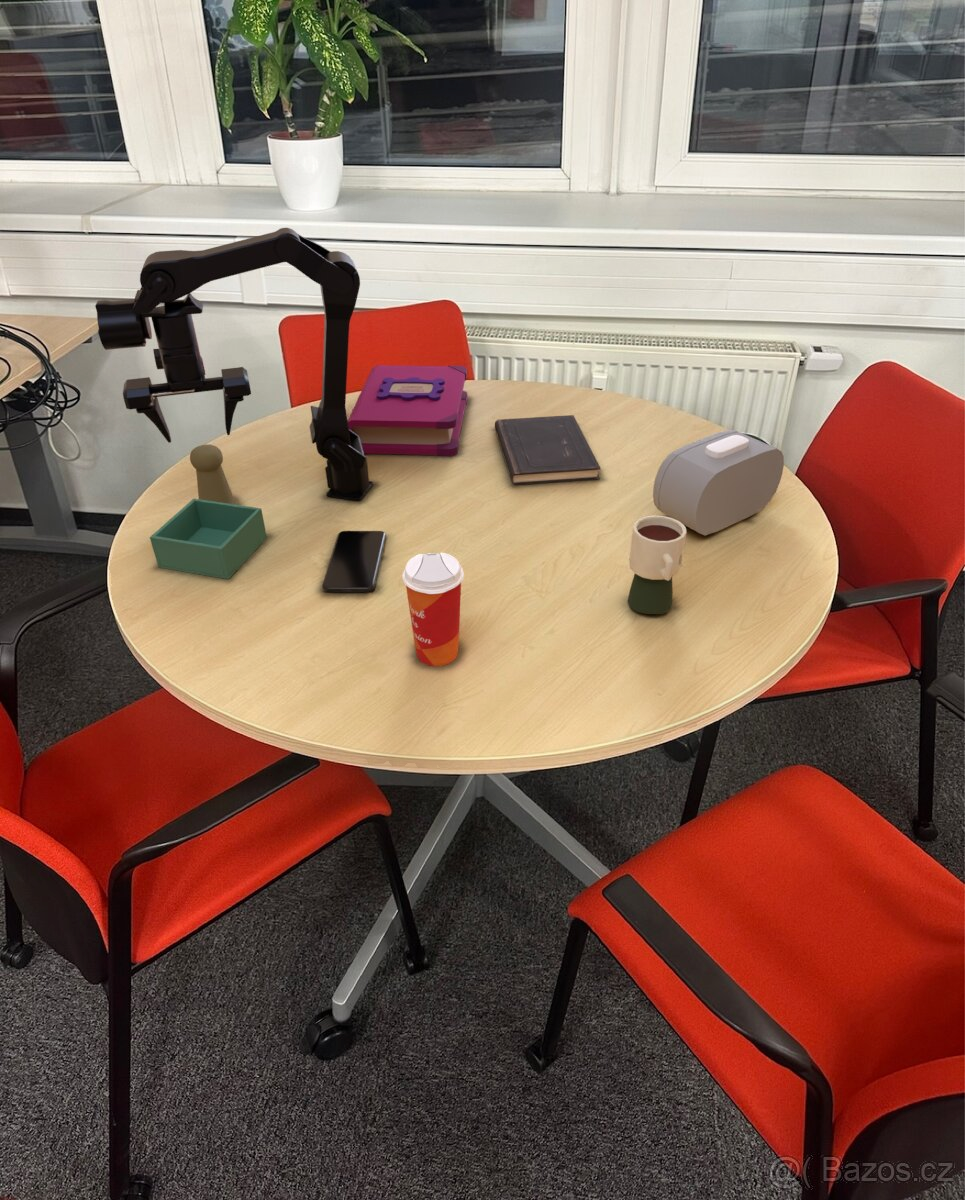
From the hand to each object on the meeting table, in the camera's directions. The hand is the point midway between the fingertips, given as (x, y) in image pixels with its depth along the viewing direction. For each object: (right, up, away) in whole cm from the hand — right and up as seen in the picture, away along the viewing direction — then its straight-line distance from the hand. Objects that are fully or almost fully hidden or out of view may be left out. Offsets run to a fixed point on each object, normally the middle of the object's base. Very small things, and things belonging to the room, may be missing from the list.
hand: (199, 437), depth 135 cm
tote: (+4, -19, -4) cm, 19 cm away
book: (+32, +9, +34) cm, 47 cm away
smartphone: (+26, -21, -6) cm, 34 cm away
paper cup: (+40, -34, -24) cm, 57 cm away
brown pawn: (0, -10, +8) cm, 13 cm away
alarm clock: (+84, -12, +4) cm, 85 cm away
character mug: (+70, -27, -16) cm, 77 cm away
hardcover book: (+58, +1, +23) cm, 62 cm away
